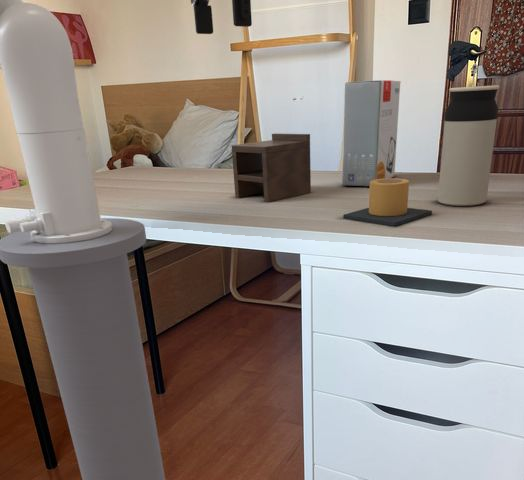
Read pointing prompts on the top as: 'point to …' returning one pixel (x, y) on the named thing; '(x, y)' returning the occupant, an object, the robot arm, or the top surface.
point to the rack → (273, 167)
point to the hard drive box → (370, 131)
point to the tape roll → (388, 197)
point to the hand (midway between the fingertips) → (223, 30)
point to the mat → (387, 220)
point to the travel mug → (468, 145)
